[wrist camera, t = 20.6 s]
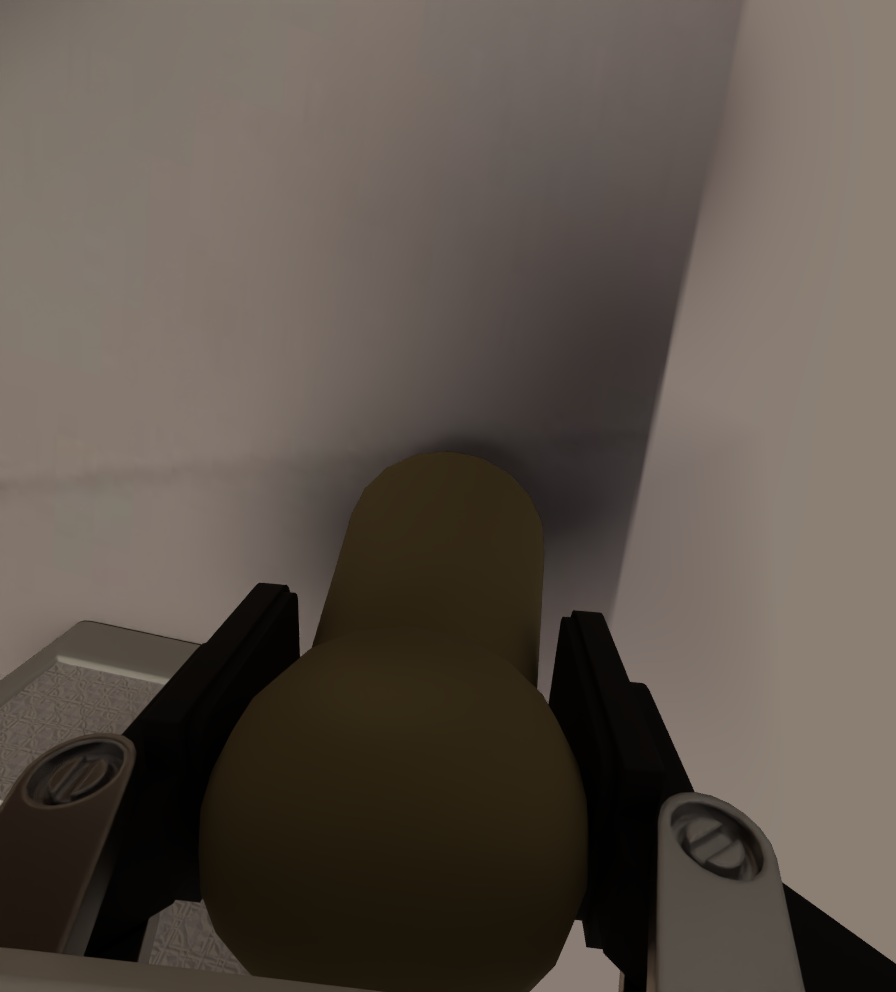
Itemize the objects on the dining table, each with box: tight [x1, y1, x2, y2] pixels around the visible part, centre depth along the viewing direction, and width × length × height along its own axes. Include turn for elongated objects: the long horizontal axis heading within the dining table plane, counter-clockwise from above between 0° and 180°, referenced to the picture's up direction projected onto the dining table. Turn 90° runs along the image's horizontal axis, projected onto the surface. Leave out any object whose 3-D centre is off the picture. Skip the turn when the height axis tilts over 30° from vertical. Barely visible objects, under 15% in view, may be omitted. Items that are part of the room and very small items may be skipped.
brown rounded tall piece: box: [198, 451, 589, 992], centre depth 11 cm, size 6×6×11 cm
